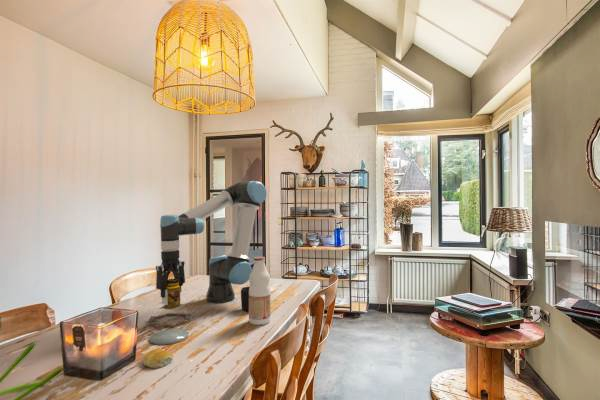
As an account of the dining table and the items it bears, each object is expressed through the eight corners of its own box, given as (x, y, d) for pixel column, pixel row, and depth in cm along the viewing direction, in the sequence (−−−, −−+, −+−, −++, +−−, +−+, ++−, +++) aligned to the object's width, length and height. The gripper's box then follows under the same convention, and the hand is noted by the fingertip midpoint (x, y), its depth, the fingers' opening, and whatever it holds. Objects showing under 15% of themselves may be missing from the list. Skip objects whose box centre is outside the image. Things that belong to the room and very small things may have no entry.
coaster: (189, 329, 142) (189, 327, 142) (187, 342, 129) (187, 340, 129) (153, 332, 139) (153, 330, 139) (146, 346, 125) (146, 344, 125)
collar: (191, 313, 163) (191, 309, 163) (189, 325, 146) (189, 321, 146) (152, 316, 159) (152, 312, 159) (145, 329, 142) (145, 325, 142)
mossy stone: (159, 355, 119) (159, 343, 119) (176, 361, 114) (176, 349, 114) (137, 364, 112) (137, 352, 112) (154, 371, 107) (154, 358, 107)
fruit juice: (252, 326, 145) (252, 259, 145) (246, 320, 153) (245, 256, 153) (273, 323, 149) (273, 258, 149) (266, 317, 157) (265, 255, 158)
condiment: (175, 309, 149) (174, 281, 148) (157, 309, 150) (157, 281, 150) (184, 304, 156) (183, 278, 156) (167, 304, 157) (166, 277, 157)
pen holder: (264, 308, 171) (264, 287, 171) (252, 313, 163) (252, 292, 163) (248, 305, 175) (248, 285, 175) (236, 310, 167) (236, 289, 167)
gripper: (181, 246, 163) (183, 295, 163) (145, 252, 147) (146, 307, 147) (193, 247, 159) (194, 297, 159) (156, 253, 143) (158, 309, 143)
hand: (171, 302), depth 153 cm, fingers closed on condiment, 6 cm apart
